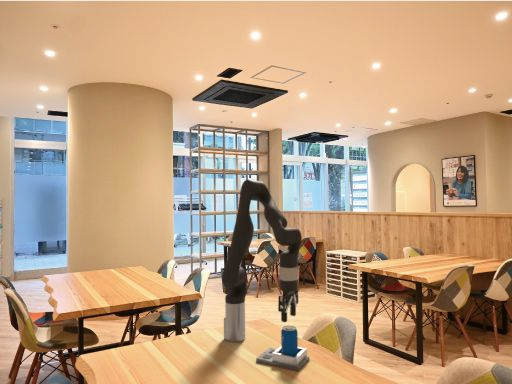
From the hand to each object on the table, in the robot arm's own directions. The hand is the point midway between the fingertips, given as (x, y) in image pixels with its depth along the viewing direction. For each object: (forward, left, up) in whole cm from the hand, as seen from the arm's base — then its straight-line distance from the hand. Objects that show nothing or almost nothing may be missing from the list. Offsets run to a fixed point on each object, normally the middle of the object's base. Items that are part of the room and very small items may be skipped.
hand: (288, 318), depth 149 cm
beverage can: (0, 0, -16) cm, 16 cm away
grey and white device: (-3, 0, -17) cm, 17 cm away
